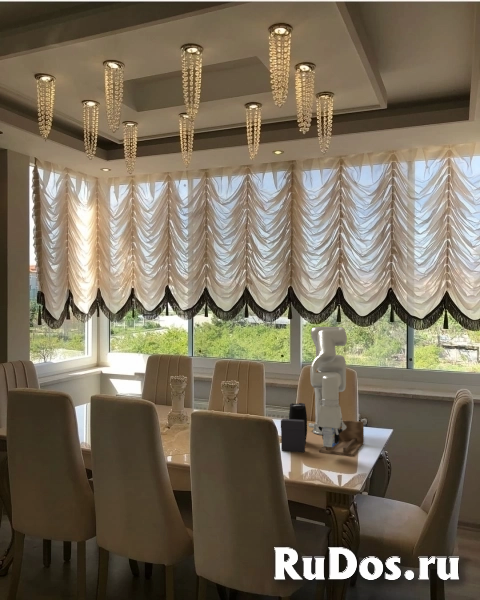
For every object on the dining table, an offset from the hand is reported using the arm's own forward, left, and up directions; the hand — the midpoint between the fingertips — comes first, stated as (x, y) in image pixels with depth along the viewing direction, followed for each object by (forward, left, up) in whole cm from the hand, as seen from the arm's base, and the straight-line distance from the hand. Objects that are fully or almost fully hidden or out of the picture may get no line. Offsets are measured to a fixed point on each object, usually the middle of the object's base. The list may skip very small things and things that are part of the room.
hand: (330, 441), depth 244 cm
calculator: (-20, +3, -8) cm, 21 cm away
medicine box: (0, 0, -2) cm, 2 cm away
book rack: (0, +17, -7) cm, 19 cm away
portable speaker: (-23, +18, -8) cm, 30 cm away
